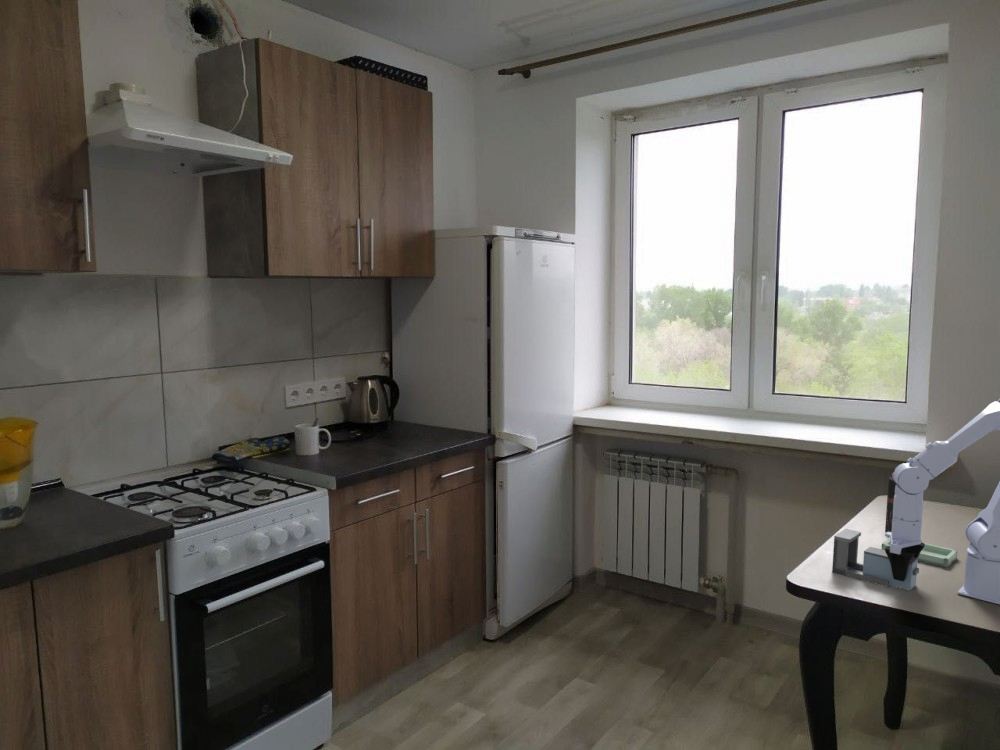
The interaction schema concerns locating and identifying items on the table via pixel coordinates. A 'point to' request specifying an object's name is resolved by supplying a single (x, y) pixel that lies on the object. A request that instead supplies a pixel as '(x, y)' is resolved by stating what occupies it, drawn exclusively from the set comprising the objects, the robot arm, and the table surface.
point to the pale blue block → (887, 568)
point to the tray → (933, 554)
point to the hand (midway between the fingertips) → (902, 576)
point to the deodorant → (890, 504)
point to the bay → (850, 557)
